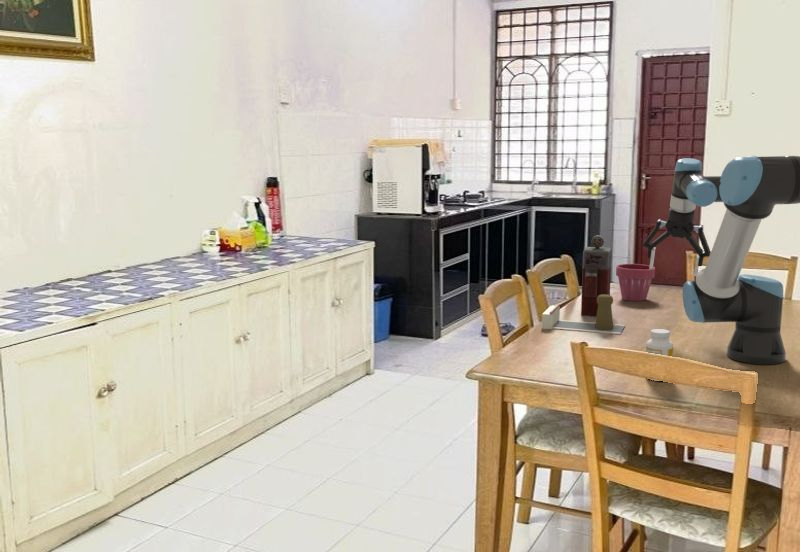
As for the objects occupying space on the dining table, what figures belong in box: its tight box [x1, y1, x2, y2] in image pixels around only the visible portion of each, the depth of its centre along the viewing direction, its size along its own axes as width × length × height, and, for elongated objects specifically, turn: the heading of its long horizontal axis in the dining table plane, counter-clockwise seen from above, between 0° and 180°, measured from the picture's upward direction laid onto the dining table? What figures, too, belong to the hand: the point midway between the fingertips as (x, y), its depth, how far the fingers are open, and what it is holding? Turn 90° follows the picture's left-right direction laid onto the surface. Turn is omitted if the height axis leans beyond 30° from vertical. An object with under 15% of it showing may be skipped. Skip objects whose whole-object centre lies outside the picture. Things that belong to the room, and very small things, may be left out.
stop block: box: [541, 303, 561, 330], centre depth 265 cm, size 14×3×6 cm, turn 158°
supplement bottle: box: [645, 328, 674, 382], centre depth 205 cm, size 7×7×13 cm
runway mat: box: [551, 319, 626, 335], centre depth 261 cm, size 12×22×1 cm, turn 68°
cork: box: [594, 294, 614, 330], centre depth 258 cm, size 6×6×11 cm
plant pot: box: [615, 263, 656, 302], centre depth 304 cm, size 14×14×13 cm
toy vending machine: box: [580, 234, 613, 318], centre depth 277 cm, size 9×11×28 cm
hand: (672, 271), depth 253 cm, fingers open, 13 cm apart
